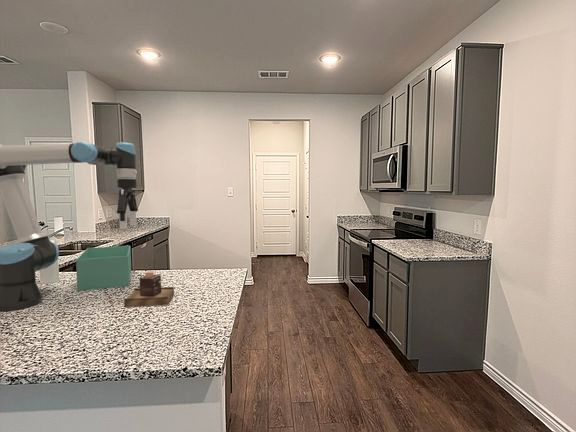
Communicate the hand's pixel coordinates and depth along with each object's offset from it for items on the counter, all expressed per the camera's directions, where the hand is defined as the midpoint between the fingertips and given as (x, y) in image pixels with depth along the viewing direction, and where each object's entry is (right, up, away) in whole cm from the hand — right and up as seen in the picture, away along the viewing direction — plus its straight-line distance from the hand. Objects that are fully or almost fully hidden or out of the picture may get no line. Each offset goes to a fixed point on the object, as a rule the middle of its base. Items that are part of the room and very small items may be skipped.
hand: (128, 227), depth 145 cm
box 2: (+14, -27, -11) cm, 33 cm away
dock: (+14, -30, -11) cm, 35 cm away
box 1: (-20, -28, +20) cm, 40 cm away
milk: (-46, -28, +15) cm, 56 cm away
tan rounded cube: (+14, -20, -11) cm, 27 cm away
